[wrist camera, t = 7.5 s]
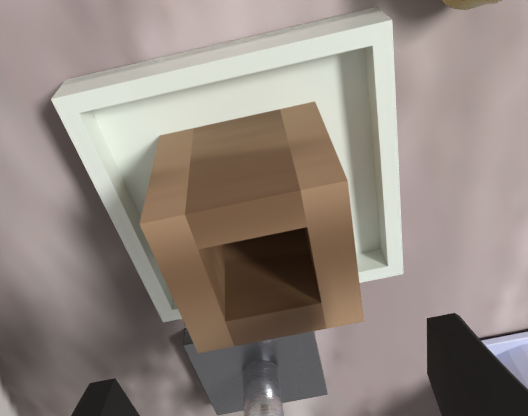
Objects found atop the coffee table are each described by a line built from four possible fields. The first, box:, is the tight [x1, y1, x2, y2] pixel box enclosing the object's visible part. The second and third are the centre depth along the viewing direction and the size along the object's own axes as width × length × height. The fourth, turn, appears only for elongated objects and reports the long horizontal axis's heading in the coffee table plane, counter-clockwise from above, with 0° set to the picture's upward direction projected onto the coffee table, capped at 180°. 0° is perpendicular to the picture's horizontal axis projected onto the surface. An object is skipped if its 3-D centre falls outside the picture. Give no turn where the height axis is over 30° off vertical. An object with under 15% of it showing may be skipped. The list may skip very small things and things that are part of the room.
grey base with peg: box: [183, 328, 327, 416], centre depth 22 cm, size 6×6×5 cm
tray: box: [51, 7, 403, 322], centre depth 17 cm, size 10×10×2 cm
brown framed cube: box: [140, 101, 364, 353], centre depth 16 cm, size 5×5×5 cm
